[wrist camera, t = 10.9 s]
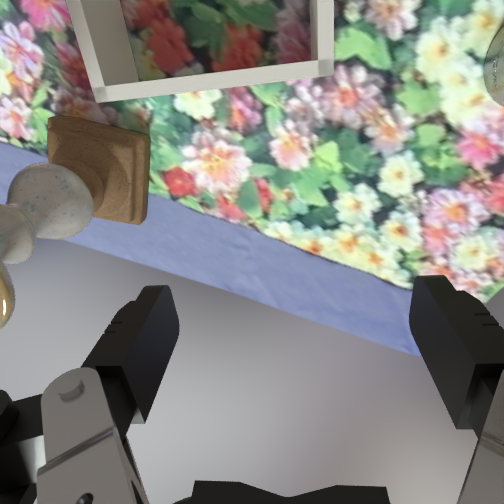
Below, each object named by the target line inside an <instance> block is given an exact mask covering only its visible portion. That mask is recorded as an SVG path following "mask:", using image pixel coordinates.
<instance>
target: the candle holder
mask: <svg viewBox="0 0 504 504" xmlns="http://www.w3.org/2000/svg"><path fill="white" fill-rule="evenodd" d="M47 146H48V160H49V163H36V164H32V165H29V166H27V167H25V168H24V169H22V170H21V171H19V172H18V173H17V174H16V176H15V177H14V178H13V180H12V182H11V184H10V186H9V189H8V194H7V201H6V204H5V205H4V204H0V329H2V328H3V327H4V326H5V325H6V323H7V322H8V321H9V320H10V317H11V316H12V313H13V311H14V307H15V291H14V286H13V283H12V279H11V277H10V275H9V272H8V270H7V268H6V266H5V265H4V263H5V264H16V263H21V262H23V261H25V260H27V259H28V258H29V257H30V256H31V254H32V253H33V250H34V246H35V238H45V239H65V238H69V237H72V236H75V235H77V234H78V233H80V232H82V231H83V230H84V229H85V228H86V227H87V226H88V225H89V223H90V221H91V219H92V217H97V218H102V219H107V220H112V221H118V222H124V223H129V224H136V225H140V224H141V223H142V222H143V221H144V220H145V219H146V215H147V205H148V186H149V166H150V137H149V136H148V135H146V134H142V133H139V132H135V131H131V130H127V129H122V128H118V127H113V126H109V125H105V124H100V123H96V122H91V121H87V120H82V119H78V118H74V117H68V116H62V115H58V116H54V117H50V118H48V133H47Z"/></svg>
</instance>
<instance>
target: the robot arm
mask: <svg viewBox="0 0 504 504" xmlns="http://www.w3.org/2000/svg"><path fill="white" fill-rule="evenodd" d="M484 81H485V86H486V88H487V91H488V93H489V94H490V96H491V97H492V98H493V100H494V101H496V102H497V103H498V104H500V105H502V106H504V26H503V27H502V28H501V30H500V31H499V32H498V34H497V35H496V37H495V38H494V40H493V42H492V44H491V46H490V48H489V50H488V53H487V57H486V60H485V65H484ZM409 325H410V330H411V333H412V336H413V338H414V340H415V342H416V344H417V346H418V348H419V351H420V353H421V355H422V357H423V359H424V361H425V363H426V365H427V368H428V370H429V372H430V374H431V376H432V378H433V380H434V382H435V385H436V387H437V389H438V391H439V393H440V395H441V397H442V400H443V402H444V404H445V406H446V408H447V410H448V412H449V415H450V417H451V419H452V421H453V423H454V425H455V427H456V429H473V430H474V432H475V433H476V435H477V437H478V441H477V444H476V447H475V450H474V453H473V456H472V459H471V462H470V465H469V468H468V471H467V474H466V477H465V480H464V483H463V486H462V489H461V492H460V495H459V498H458V501H457V504H504V329H503V328H502V327H501V326H499V323H498V322H497V321H496V320H495V318H494V317H493V316H491V315H490V312H489V311H488V310H487V309H486V307H485V306H484V305H483V304H482V302H481V301H480V300H478V299H477V298H475V297H473V296H472V295H470V294H469V293H467V292H466V291H464V290H462V291H456V289H455V288H454V287H453V285H452V284H451V283H450V281H449V280H448V279H447V277H446V276H444V275H428V276H417V277H416V278H415V281H414V286H413V293H412V299H411V306H410V313H409ZM178 336H179V319H178V315H177V312H176V308H175V304H174V300H173V297H172V293H171V289H170V288H169V286H168V285H155V286H145V287H144V288H143V290H142V291H141V293H140V294H139V296H138V297H137V299H136V301H130V302H129V303H127V304H126V305H125V306H124V307H123V308H121V309H120V310H119V311H118V312H117V314H116V315H115V316H114V318H113V319H112V321H111V324H109V325H108V327H107V329H106V330H105V333H104V334H103V335H102V336H101V337H100V339H99V340H98V342H97V344H96V345H95V346H94V348H93V349H92V351H91V352H90V354H89V355H88V357H87V358H86V360H85V361H84V363H83V365H82V366H81V367H80V368H77V369H73V370H70V371H68V372H66V373H64V374H62V375H61V376H59V377H58V378H56V379H55V380H54V381H53V382H52V383H50V384H49V386H48V387H47V388H46V389H45V391H44V393H43V394H39V395H36V396H32V397H28V398H24V399H21V400H17V401H12V399H11V398H10V396H9V395H8V394H7V392H5V391H3V390H0V504H33V503H34V501H35V499H36V497H37V504H150V503H149V501H148V498H147V495H146V493H145V490H144V486H143V484H142V480H141V477H140V474H139V471H138V468H137V465H136V462H135V459H134V456H133V453H132V450H131V447H130V444H129V441H128V438H127V436H126V433H127V431H128V428H129V426H130V424H145V422H146V420H147V417H148V415H149V412H150V409H151V407H152V404H153V402H154V399H155V397H156V394H157V391H158V389H159V386H160V384H161V381H162V378H163V375H164V373H165V370H166V368H167V365H168V363H169V360H170V357H171V355H172V352H173V350H174V347H175V344H176V342H177V339H178ZM173 504H390V501H389V498H388V493H387V489H386V487H375V486H344V485H335V486H332V487H328V488H324V489H320V490H316V491H312V492H309V493H305V494H301V495H297V496H294V497H283V496H280V495H277V494H274V493H271V492H268V491H265V490H262V489H259V488H256V487H253V486H250V485H247V484H244V483H241V482H226V481H195V483H194V487H193V492H192V496H191V497H188V498H185V499H183V500H180V501H177V502H175V503H173Z"/></svg>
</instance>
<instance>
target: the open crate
mask: <svg viewBox="0 0 504 504" xmlns="http://www.w3.org/2000/svg"><path fill="white" fill-rule="evenodd" d="M65 1H66V5H67V8H68V11H69V15H70V18H71V21H72V24H73V28H74V31H75V34H76V38H77V41H78V44H79V48H80V51H81V54H82V58H83V61H84V64H85V67H86V71H87V74H88V77H89V81H90V84H91V87H92V91H93V94H94V97H95V100H96V103H101V102H110V101H118V100H127V99H135V98H144V97H152V96H161V95H169V94H178V93H186V92H195V91H203V90H212V89H220V88H229V87H238V86H246V85H255V84H263V83H272V82H280V81H289V80H297V79H306V78H314V77H323V76H331V75H334V0H310V38H311V61H303V62H295V63H286V64H278V65H270V66H262V67H254V68H246V69H238V70H230V71H222V72H214V73H205V74H197V75H189V76H181V77H173V78H165V79H157V80H149V81H141V82H139V78H138V74H137V70H136V66H135V62H134V58H133V53H132V49H131V45H130V41H129V37H128V33H127V28H126V24H125V20H124V16H123V12H122V8H121V3H120V0H65Z"/></svg>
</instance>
